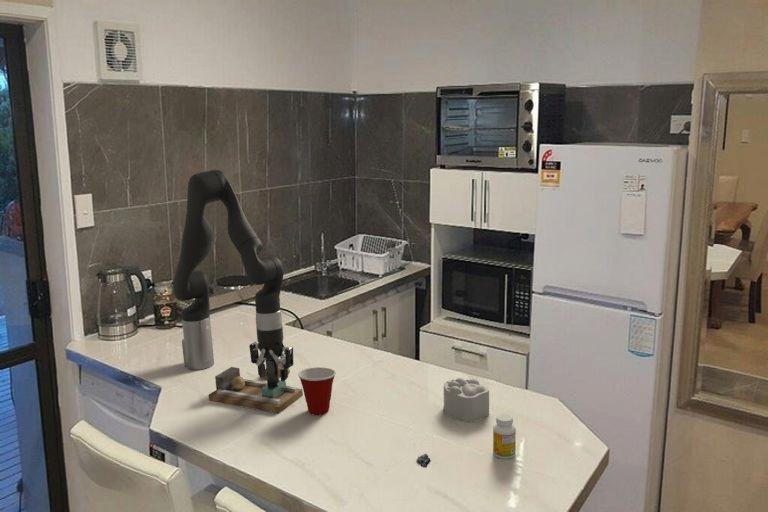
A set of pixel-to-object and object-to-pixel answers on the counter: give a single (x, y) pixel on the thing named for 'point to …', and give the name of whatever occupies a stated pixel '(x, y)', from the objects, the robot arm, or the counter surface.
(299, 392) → the base
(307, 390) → the plastic cup
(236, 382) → the walnut
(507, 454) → the supplement bottle
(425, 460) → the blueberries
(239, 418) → the counter surface
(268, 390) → the jaw
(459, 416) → the lumpy-topped squat cylinder
